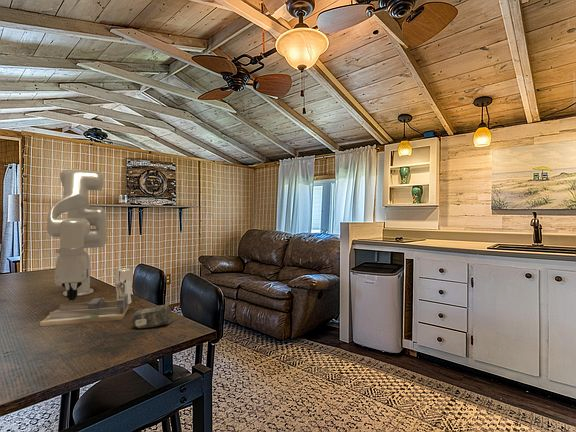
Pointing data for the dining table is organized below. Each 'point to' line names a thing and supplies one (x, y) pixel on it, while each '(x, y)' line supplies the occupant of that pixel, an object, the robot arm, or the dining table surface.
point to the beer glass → (124, 282)
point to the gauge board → (87, 313)
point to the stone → (152, 317)
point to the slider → (96, 303)
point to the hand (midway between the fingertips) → (72, 299)
